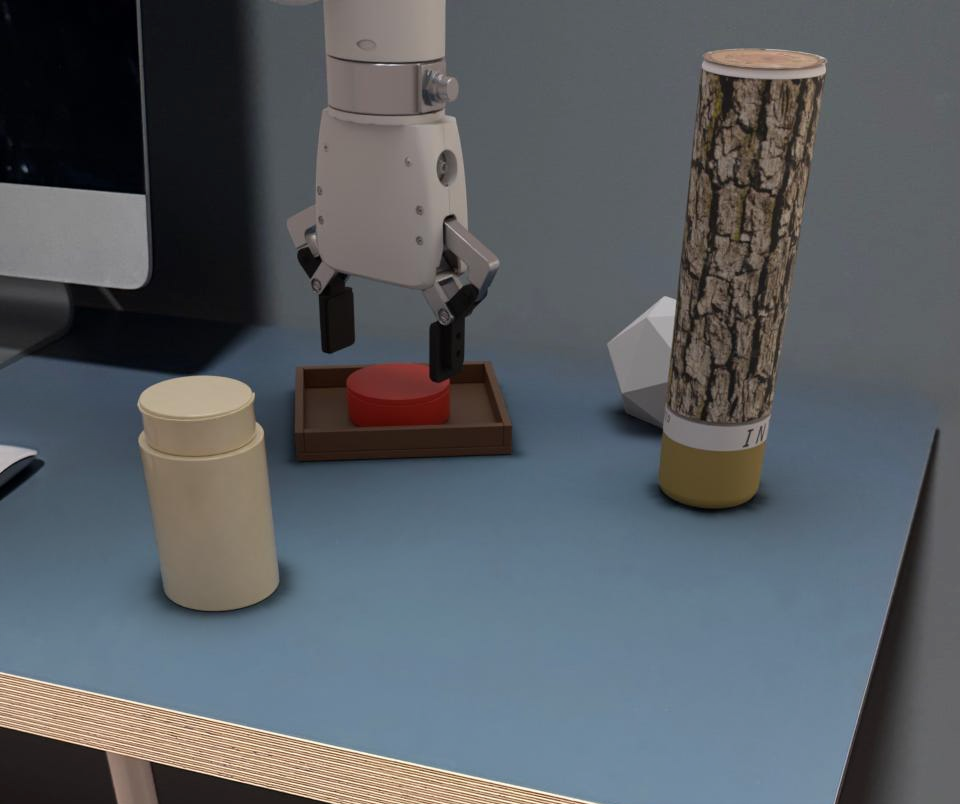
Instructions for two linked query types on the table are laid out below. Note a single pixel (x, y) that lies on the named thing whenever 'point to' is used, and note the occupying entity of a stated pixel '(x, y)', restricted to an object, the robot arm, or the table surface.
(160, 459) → the jar
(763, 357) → the paper tube
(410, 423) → the jar lid
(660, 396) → the die
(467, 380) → the tray
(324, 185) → the robot arm
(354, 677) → the table surface
